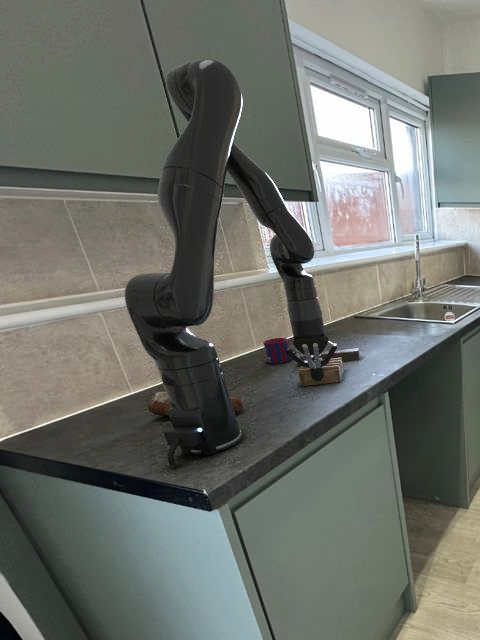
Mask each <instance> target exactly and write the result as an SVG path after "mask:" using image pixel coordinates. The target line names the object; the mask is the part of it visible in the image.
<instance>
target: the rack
mask: <svg viewBox="0 0 480 640" xmlns="http://www.w3.org/2000/svg"><path fill="white" fill-rule="evenodd" d="M322 360H323V359H322ZM315 366H316V363H315ZM322 368H323V373H324V377H323V379H322V380H321V381H315V379H314V380H313V379H312V377H311V372H310V368H308V367H302V366H300V368H299V369H298V378H299V382H300V385H301V387H307V386H316V385H325V384H332V383H340V382H342V379H343V375H344V372H345V367H344V361H342V358H332V359H330V360H329V362H328V364H327V365H323V366H322Z"/></svg>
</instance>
